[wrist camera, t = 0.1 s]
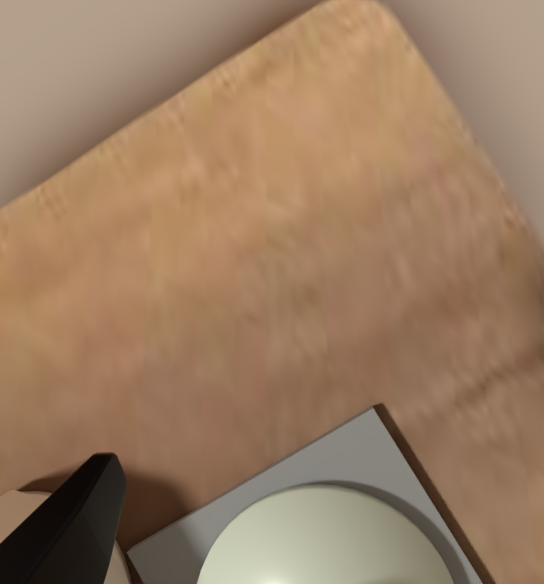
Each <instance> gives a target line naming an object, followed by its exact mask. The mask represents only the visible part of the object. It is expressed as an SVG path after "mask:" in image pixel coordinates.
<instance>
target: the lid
mask: <svg viewBox="0 0 544 584" xmlns="http://www.w3.org/2000/svg"><path fill="white" fill-rule="evenodd" d="M197 584H454V583H453V580H452V578H451V575H450V573H449V571H448V568H447V567H446V565H445V563H444V561H443V559H442V557H441V555H440V554H439V552H438V551H437V549H436V548H435V546H434V545H433V544H432V542H431V541H430V539H429V538H428V537H427V536H426V535H425V534H424V532H423V531H422V530H421V529H420V528H419V527H418V526H417V525H416V524H415V523H414V522H413V521H412V520H410V519H409V518H408V517H407V516H406V515H405V514H403V513H402V512H401V511H399V510H398V509H396V508H395V507H393V506H392V505H390V504H389V503H387V502H385V501H383V500H381V499H379V498H377V497H375V496H373V495H371V494H368V493H365V492H362V491H359V490H357V489H353V488H349V487H344V486H339V485H330V484H304V485H298V486H293V487H287V488H284V489H281V490H278V491H275V492H272V493H270V494H268V495H266V496H263V497H261V498H259V499H257V500H256V501H254V502H253V503H251V504H250V505H248V506H247V507H245V508H244V509H242V510H241V511H240V512H239V513H238V514H237V515H236V516H235V517H234V518H232V519H231V520H230V522H229V523H228V524H227V525H226V526H225V528H224V529H223V530H222V531H221V532H220V534H219V536H218V537H217V539H216V540H215V542H214V544H213V545H212V547H211V549H210V551H209V553H208V556H207V558H206V560H205V562H204V564H203V567H202V569H201V572H200V575H199V579H198V582H197Z"/></svg>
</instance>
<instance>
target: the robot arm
mask: <svg viewBox="0 0 544 584" xmlns="http://www.w3.org/2000/svg"><path fill="white" fill-rule="evenodd" d="M125 492H126V477H125V474H124V472H123V469H122V467H121V464H120V462H119V460H118V457H117V455H116V454H114V453H112V452H107V453H95V454H94V455H92V456H91V457H90V458H89V459H88V460H87V461H86V462H85V463H84V464H82V465H81V466H80V467H79V468H78V469H77V470H76V471H75V472H74V473H73V474H72V475H71V476H70V477H69V478H68V479H67V480H66V481H65V482H64V483H63V484H62V485H61V486H59V487H58V488H57V489H56V490H55V491H54V492H53V493H52V494H51V495H50V496H49V497H48V498H47V499H46V500H45V501H44V502H43V503H42V504H41V505H40V506H39V507H38V508H36V509H35V510H34V511H33V512H32V513H31V514H30V515H29V516H28V517H27V518H26V519H25V520H24V521H23V522H22V523H21V524H20V525H19V526H18V527H17V528H16V529H15V530H13V531H12V532H11V533H10V534H9V535H8V536H7V537H6V538H5V539H4V540H3V541H2V542H1V543H0V584H104V581H105V578H106V575H107V571H108V568H109V565H110V561H111V556H112V552H113V548H114V543H115V538H116V534H117V529H118V524H119V520H120V515H121V510H122V506H123V501H124V496H125Z"/></svg>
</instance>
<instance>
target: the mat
mask: <svg viewBox="0 0 544 584" xmlns="http://www.w3.org/2000/svg"><path fill="white" fill-rule="evenodd" d="M304 484H330V485H339V486H344V487H349V488H353V489H357V490H359V491H362V492H365V493H368V494H371V495H373V496H375V497H377V498H379V499H381V500H383V501H385V502H387V503H389V504H390V505H392V506H393V507H395V508H396V509H398V510H399V511H401V512H402V513H403V514H405V515H406V516H407V517H408V518H409V519H410V520H412V521H413V522H414V523H415V524H416V525H417V526H418V527H419V528H420V529H421V530H422V531H423V532H424V534H425V535H426V536H427V537H428V538H429V539H430V541H431V542H432V544H433V545H434V546H435V548H436V549H437V551H438V552H439V554H440V555H441V557H442V559H443V561H444V563H445V565H446V567H447V568H448V571H449V573H450V575H451V578H452V580H453V583H454V584H483V582H482V581H481V579H480V578H479V576H478V574H477V573H476V571H475V570H474V568H473V566H472V565H471V563H470V562H469V560H468V558H467V557H466V555H465V554H464V552H463V550H462V549H461V547H460V546H459V544H458V542H457V541H456V539H455V538H454V536H453V534H452V533H451V531H450V530H449V528H448V526H447V525H446V523H445V522H444V520H443V518H442V517H441V515H440V514H439V512H438V510H437V509H436V507H435V506H434V504H433V502H432V501H431V499H430V498H429V496H428V494H427V493H426V491H425V490H424V488H423V486H422V485H421V483H420V482H419V480H418V478H417V477H416V475H415V474H414V472H413V470H412V469H411V467H410V466H409V464H408V462H407V461H406V459H405V458H404V456H403V454H402V453H401V451H400V450H399V448H398V446H397V445H396V443H395V442H394V440H393V438H392V437H391V435H390V433H389V432H388V430H387V429H386V427H385V425H384V424H383V422H382V421H381V419H380V417H379V416H378V414H377V413H376V411H375V409H374V408H373V406H371V407H370V408H368V409H366V410H365V411H363V412H361V413H359V414H358V415H356V416H354V417H353V418H351V419H349V420H348V421H346V422H344V423H342V424H341V425H339V426H337V427H336V428H334V429H332V430H330V431H329V432H327V433H325V434H324V435H322V436H320V437H319V438H317V439H315V440H313V441H312V442H310V443H308V444H307V445H305V446H303V447H301V448H300V449H298V450H296V451H295V452H293V453H291V454H290V455H288V456H286V457H284V458H283V459H281V460H279V461H278V462H276V463H274V464H272V465H271V466H269V467H267V468H266V469H264V470H262V471H261V472H259V473H257V474H255V475H254V476H252V477H250V478H249V479H247V480H245V481H243V482H242V483H240V484H238V485H237V486H235V487H233V488H232V489H230V490H228V491H226V492H225V493H223V494H221V495H220V496H218V497H216V498H215V499H213V500H211V501H209V502H208V503H206V504H204V505H203V506H201V507H199V508H197V509H196V510H194V511H192V512H191V513H189V514H187V515H186V516H184V517H182V518H180V519H179V520H177V521H175V522H174V523H172V524H170V525H168V526H167V527H165V528H163V529H162V530H160V531H158V532H157V533H155V534H153V535H151V536H150V537H148V538H146V539H145V540H143V541H141V542H139V543H138V544H136V545H134V546H133V547H131V548H130V549H129V550H128V552H127V554H128V556H129V558H130V560H131V561H132V563H133V565H134V567H135V568H136V570H137V572H138V574H139V575H140V577H141V579H142V581H143V583H144V584H197V582H198V579H199V575H200V572H201V569H202V567H203V564H204V562H205V560H206V558H207V556H208V553H209V551H210V549H211V547H212V545H213V544H214V542H215V540H216V539H217V537H218V536H219V534H220V532H221V531H222V530H223V529H224V528H225V526H226V525H227V524H228V523H229V522H230V520H231V519H232V518H234V517H235V516H236V515H237V514H238V513H239V512H240V511H241V510H242V509H244V508H245V507H247V506H248V505H250V504H251V503H253V502H254V501H256V500H257V499H259V498H261V497H263V496H266V495H268V494H270V493H272V492H275V491H278V490H281V489H284V488H287V487H293V486H298V485H304Z"/></svg>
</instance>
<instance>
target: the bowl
mask: <svg viewBox="0 0 544 584" xmlns="http://www.w3.org/2000/svg"><path fill="white" fill-rule="evenodd" d="M51 494H52V493H49V492H41V491H24V492H19V491H16V490H12V491H11V490H10V491H8V492H6V493H5V494H3V495H1V496H0V543H1V542H2V541H3V540H4V539H5V538H6V537H7V536H8V535H9V534H10V533H11V532H12V531H13V530H15V529H16V528H17V527H18V526H19V525H20V524H21V523H22V522H23V521H24V520H25V519H26V518H27V517H28V516H29V515H30V514H31V513H32V512H33V511H34V510H35V509H36V508H38V507H39V506H40V505H41V504H42V503H43V502H44V501H45V500H46V499H47V498H48V497H49V496H50V495H51ZM104 584H132V581H131V577H130V572H129V568H128V565H127V562H126V559H125V556H124V554H123V552H122V550H121V548H120V546H119V544H118V542H117V541H116V539H115V543H114V548H113V552H112V556H111V561H110V565H109V568H108V571H107V575H106V578H105V581H104Z"/></svg>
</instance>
